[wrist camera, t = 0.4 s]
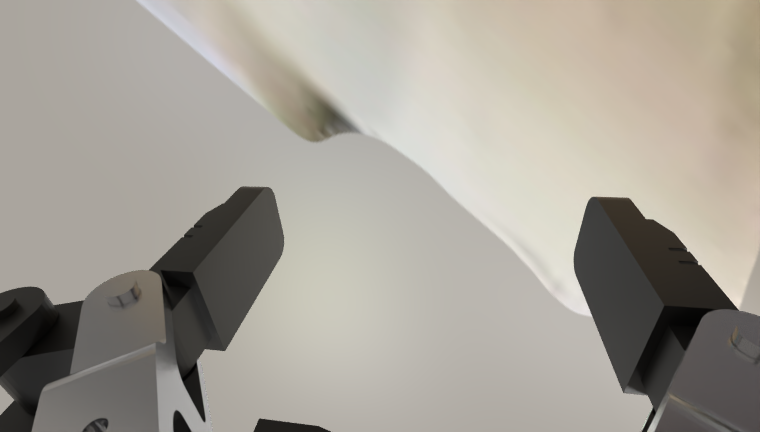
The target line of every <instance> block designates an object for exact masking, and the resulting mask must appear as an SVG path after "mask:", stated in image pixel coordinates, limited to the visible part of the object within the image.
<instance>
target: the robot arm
mask: <svg viewBox="0 0 760 432" xmlns="http://www.w3.org/2000/svg"><path fill="white" fill-rule="evenodd" d="M283 247H284V235H283V230H282V226H281V221H280V217H279V213H278V209H277V204H276V199H275V195H274V193H273V191H272V189H271V188H269V187H240V188H239V189H238V190H237V191H236V192H235V193H234V194H233V195H232V196H231V197H230V198H229V199H228V200H227V201H226V202H225V203H224V204H221V205H220V206H218V207H216V208H214V209H213V210H211V211H209V212H207V213H206V214H205V215H204V216H203V217H202V218H201V219H200V220H199V221H198V222H197V223H196V224H195V225H194V228H191V229H190V230H189V231H188V232H187V233H186V234H185V235H184V237H182V238H181V239H180V240H179V241H178V242H177V243H176V244H175V245H174V246H173V247H172V248H171V249H170V250H169V251H168V252H167V253H166V254H165V255H164V256H162V258H160V260H158V261H157V262H156V263H155V264H154V266H152V267H151V269H149V270H138V271H131V272H127V273H124V274H121V275H118V276H116V277H114V278H111V279H109V280H107V281H106V282H104V283H102V284H101V285H99V286H98V287H96V288H95V289H94V290H93V291H92V292H91V293H90V294H89V295H88V296H87V297H86V298H85V300H84V301H78V302H72V303H65V304H59V305H53V304H52V303H51V301H50V300H49V298H48V297H47V295H46V294H45V293H44V291H43V290H42V289H40V288H37V287H22V288H17V289H12V290H9V291H6V292H3V293H0V385H1V386H2V387H3V388H4V389H5V390H6V391H7V392H8V394H9V395H10V396H11V397H12V398H13V399H14V401H13V403H12V404H11V405H10V406H9V407H8V408H7V409H6V410H5V411H4V412H3V413H2V414H1V415H0V432H213V429H212V423H211V417H210V411H209V405H208V400H207V393H206V388H205V382H204V376H203V370H202V365H201V363H200V361H199V357H200V355H201V354H202V352H203V351H204V349H210V350H220V351H225V350H226V348H227V347H228V345H229V343H230V342H231V340H232V338H233V337H234V335H235V333H236V332H237V330H238V328H239V327H240V325H241V323H242V321H243V320H244V318H245V316H246V315H247V313H248V311H249V310H250V308H251V306H252V305H253V303H254V301H255V300H256V298H257V296H258V294H259V293H260V291H261V289H262V288H263V286H264V284H265V283H266V281H267V279H268V278H269V276H270V274H271V273H272V271H273V269H274V267H275V266H276V264H277V262H278V260H279V259H280V257H281V255H282V252H283ZM574 270H575V274H576V277H577V279H578V282H579V284H580V287H581V289H582V292H583V294H584V297H585V299H586V301H587V304H588V306H589V309H590V311H591V314H592V316H593V319H594V321H595V324H596V326H597V328H598V331H599V334H600V336H601V339H602V341H603V344H604V346H605V348H606V351H607V354H608V356H609V358H610V361H611V363H612V366H613V368H614V371H615V373H616V376H617V378H618V381H619V383H620V386H621V388H622V391H623V393H629V394H639V395H648V397H649V399H650V401H651V403H652V405H653V408H652V409H651V411H650V413H649V415H648V417H647V419H646V421H645V423H644V425H643V427H642V430H641V432H760V316H757V315H755V314H751V313H747V312H743V311H739V310H738V309H737V308H736V306H735V305H734V304H733V303H732V302H731V300H730V299H729V298H728V297H727V296H726V294H725V293H724V292H723V291H722V290H721V288H720V287H719V286H718V285H717V284H716V283H715V281H714V280H713V279H712V278H711V277H710V275H709V274H708V273H707V272H706V271H705V269H704V268H703V267H702V266H701V265H698V261H697V260H696V259H695V257H694V256H693V255H692V254H691V253H690V252H687V248H686V247H685V246H684V244H683V243H682V242H681V241H680V240H679V238H678V237H677V236H676V235H675V234H674V233H673V232H672V231H670V230H668V229H667V228H665V227H664V226H662V225H661V224H659V223H657V222H656V221H654V220H650V219H645V217H644V216H643V215H642V214H641V212H640V211H639V210H638V208H637V207H636V206H635V205H634V203H633V202H632V201H631V200H630V199H629V198H618V197H592V198H591V199H590V200H589V201H588V203H587V206H586V210H585V213H584V217H583V221H582V225H581V228H580V232H579V236H578V240H577V243H576V247H575V251H574ZM254 432H331V431H328V430H326V429H323V428H321V427H319V426H313V425H305V424H297V423H290V422H282V421H274V420H266V419H259V420H258V423H257V425H256V427H255V430H254Z"/></svg>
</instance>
